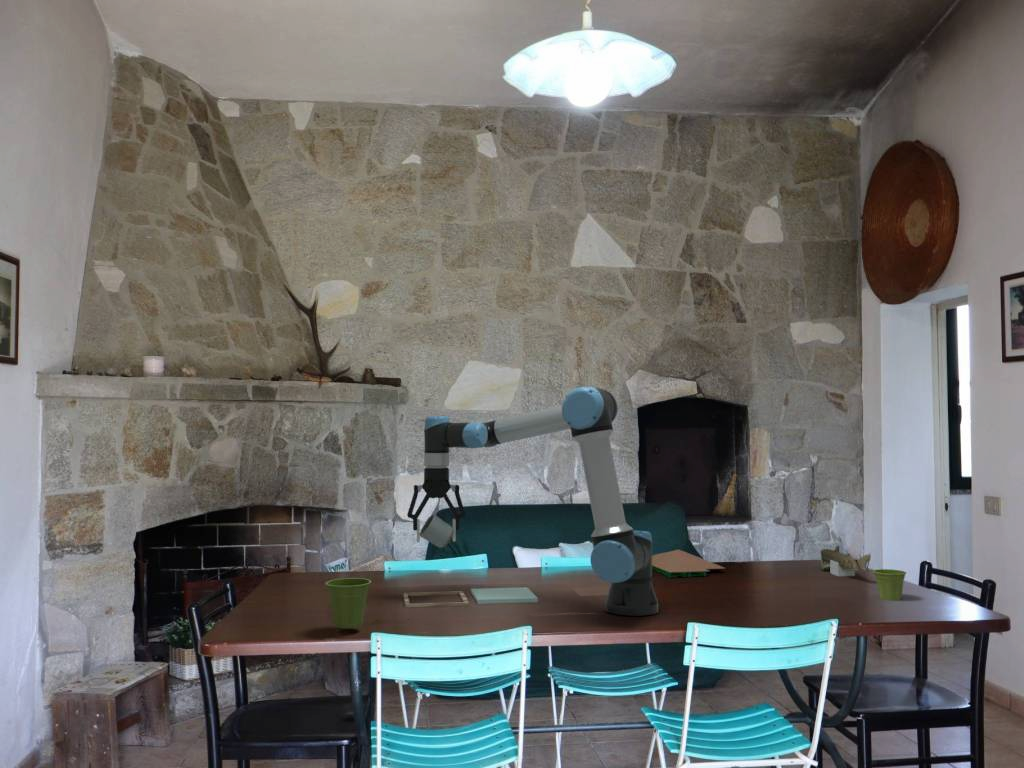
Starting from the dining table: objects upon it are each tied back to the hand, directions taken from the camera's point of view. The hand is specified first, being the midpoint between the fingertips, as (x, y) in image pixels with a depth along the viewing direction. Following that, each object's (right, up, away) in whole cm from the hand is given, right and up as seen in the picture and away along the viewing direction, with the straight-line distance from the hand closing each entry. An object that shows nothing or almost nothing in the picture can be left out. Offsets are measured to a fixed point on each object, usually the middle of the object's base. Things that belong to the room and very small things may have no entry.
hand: (436, 541), depth 265 cm
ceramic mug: (0, -2, 0) cm, 2 cm away
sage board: (+20, -18, +4) cm, 27 cm away
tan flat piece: (+84, -21, +54) cm, 102 cm away
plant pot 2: (+138, -19, +3) cm, 139 cm away
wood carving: (+138, -20, +39) cm, 145 cm away
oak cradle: (0, -18, -1) cm, 18 cm away
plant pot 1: (-20, -16, -34) cm, 43 cm away
